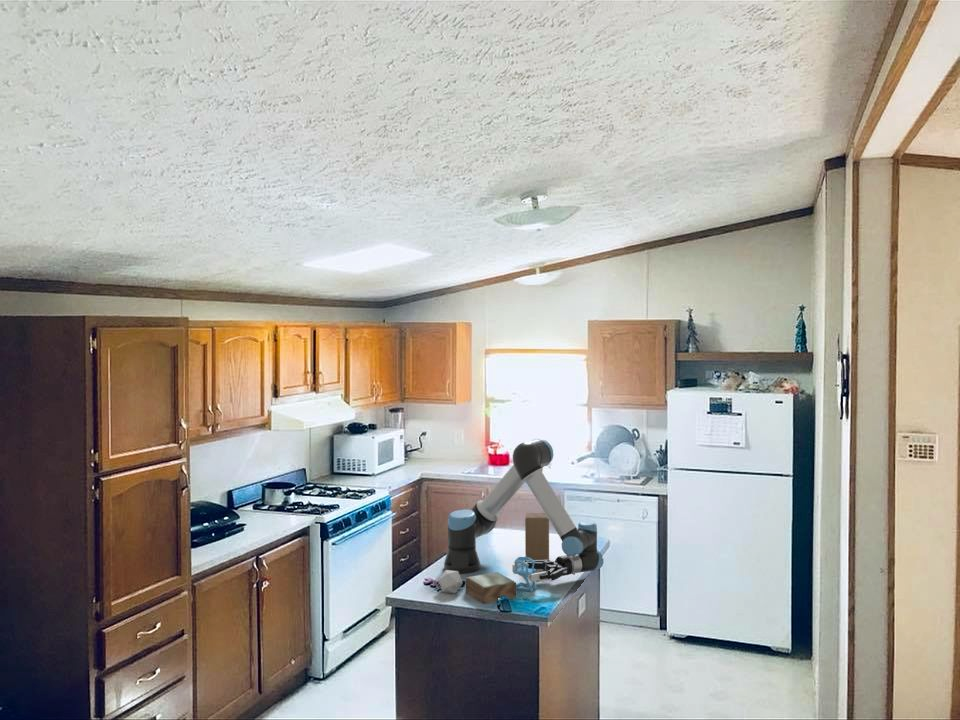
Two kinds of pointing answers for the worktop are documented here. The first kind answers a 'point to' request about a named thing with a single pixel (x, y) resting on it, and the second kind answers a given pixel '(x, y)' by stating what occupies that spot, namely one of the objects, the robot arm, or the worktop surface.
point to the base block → (490, 587)
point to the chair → (525, 573)
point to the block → (537, 536)
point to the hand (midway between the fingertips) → (521, 573)
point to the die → (450, 581)
